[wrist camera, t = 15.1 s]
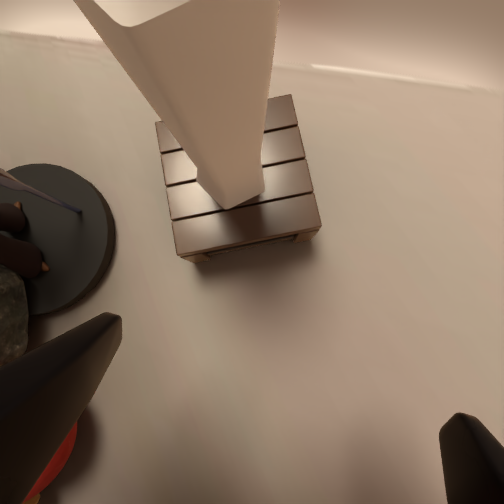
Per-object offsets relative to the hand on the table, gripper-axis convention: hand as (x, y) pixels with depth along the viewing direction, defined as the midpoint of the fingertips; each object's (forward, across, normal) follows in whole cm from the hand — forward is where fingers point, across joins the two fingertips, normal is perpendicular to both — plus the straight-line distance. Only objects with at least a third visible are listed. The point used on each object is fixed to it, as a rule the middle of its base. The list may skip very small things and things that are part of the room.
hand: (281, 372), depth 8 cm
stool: (+14, +4, +1) cm, 15 cm away
